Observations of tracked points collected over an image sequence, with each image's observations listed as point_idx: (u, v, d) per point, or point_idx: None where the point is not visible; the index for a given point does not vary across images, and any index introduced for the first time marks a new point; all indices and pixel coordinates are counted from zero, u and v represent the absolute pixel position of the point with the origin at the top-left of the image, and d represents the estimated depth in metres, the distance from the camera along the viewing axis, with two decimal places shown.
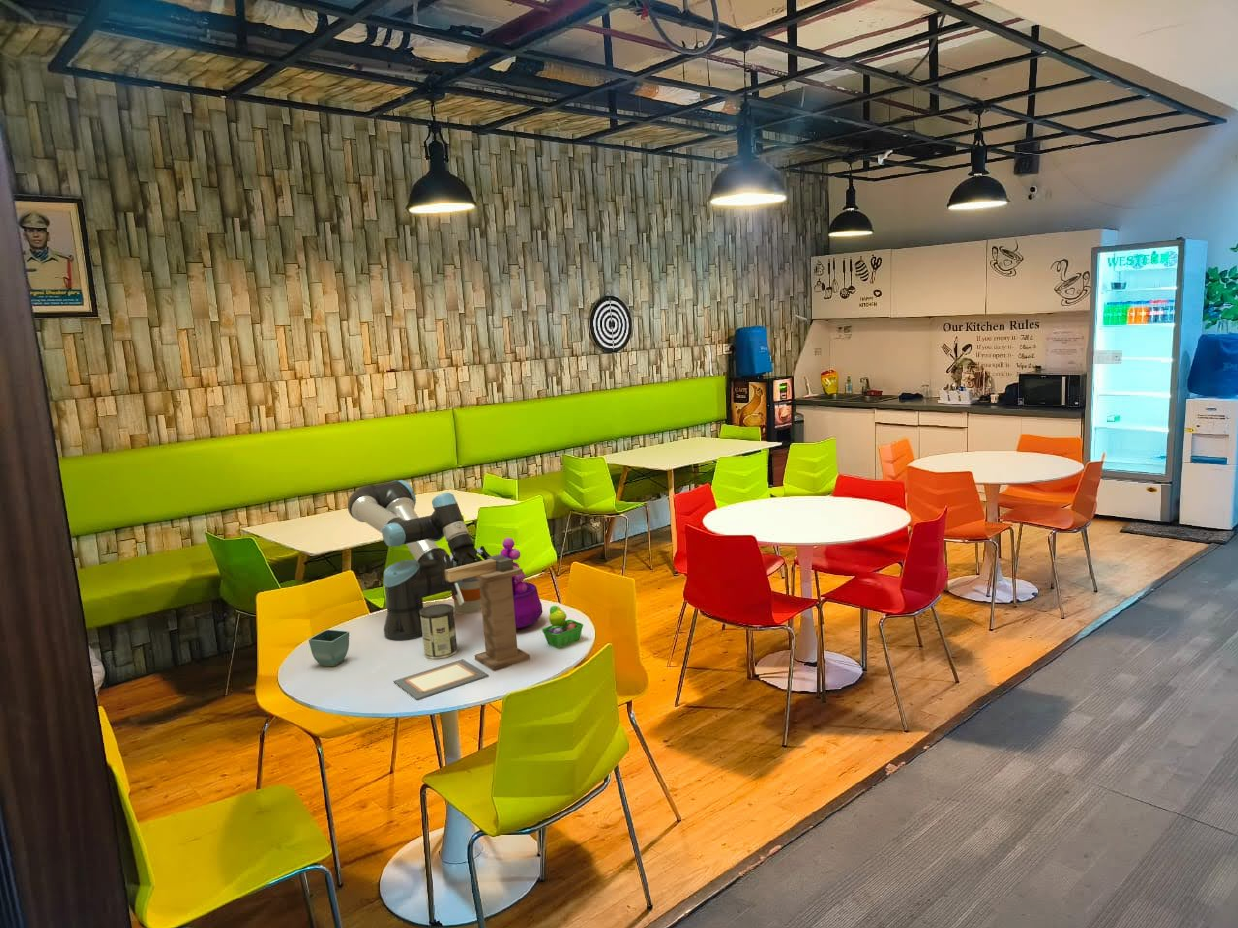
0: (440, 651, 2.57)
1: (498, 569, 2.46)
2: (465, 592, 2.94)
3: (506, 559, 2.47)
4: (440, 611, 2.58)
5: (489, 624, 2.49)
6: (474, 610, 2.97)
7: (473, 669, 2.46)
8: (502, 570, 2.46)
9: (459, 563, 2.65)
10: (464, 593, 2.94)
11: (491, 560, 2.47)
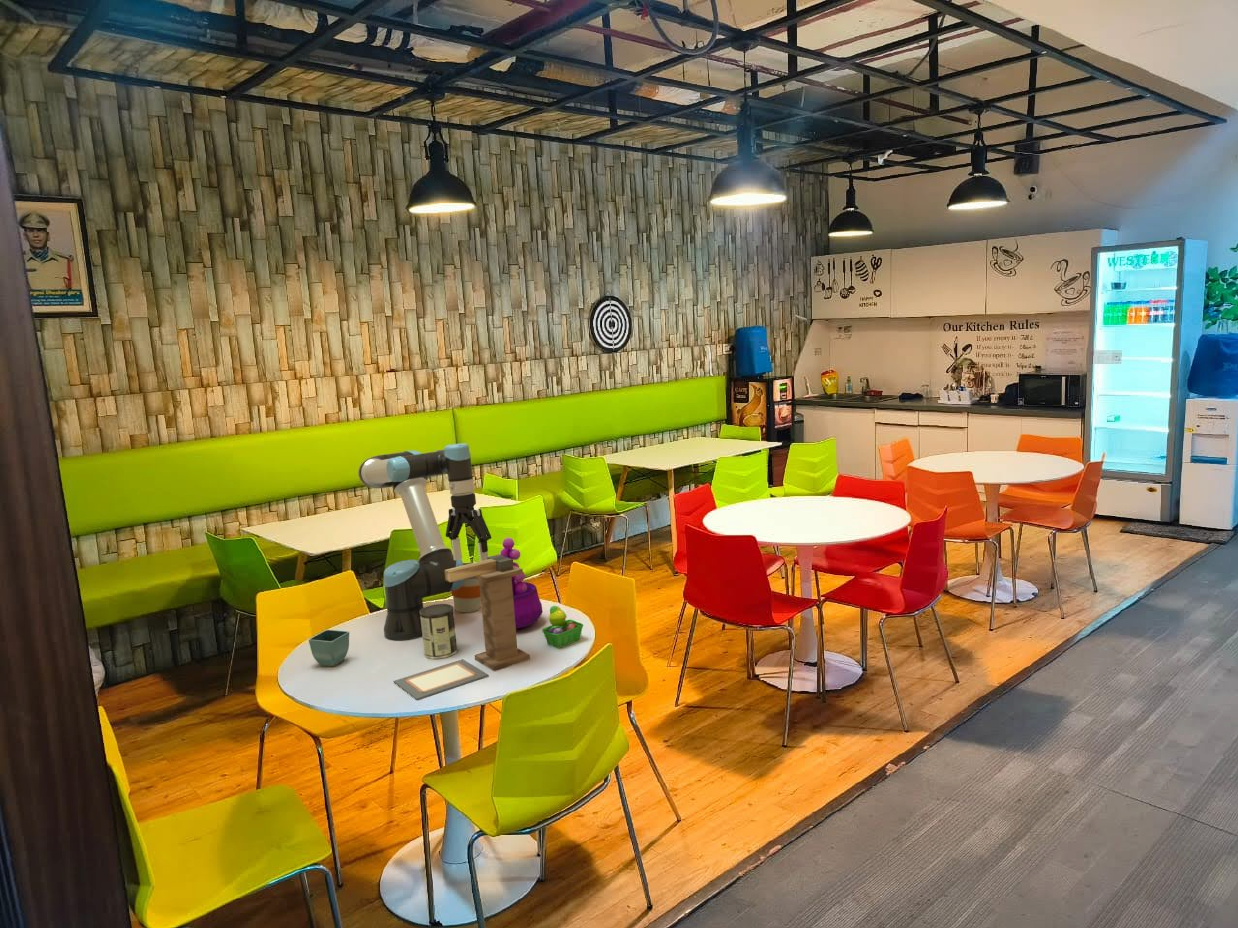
0: (440, 651, 2.57)
1: (498, 569, 2.46)
2: (463, 589, 2.94)
3: (506, 559, 2.47)
4: (440, 611, 2.58)
5: (489, 624, 2.49)
6: (473, 608, 2.97)
7: (473, 669, 2.46)
8: (502, 570, 2.46)
9: (455, 522, 2.63)
10: (463, 590, 2.94)
11: (491, 560, 2.47)
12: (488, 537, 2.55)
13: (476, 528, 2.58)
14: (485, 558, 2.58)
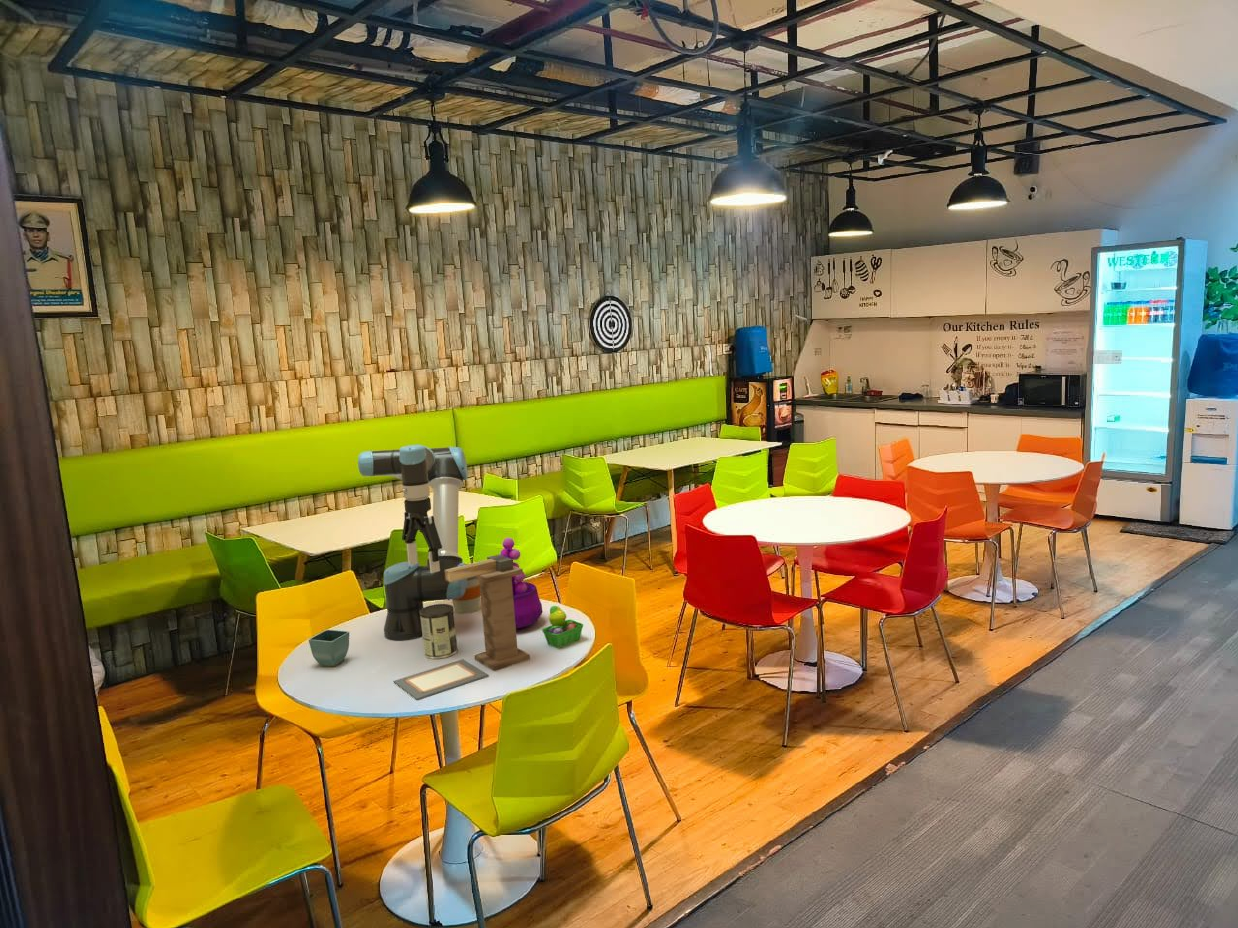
0: (440, 651, 2.57)
1: (498, 569, 2.46)
2: None
3: (506, 559, 2.47)
4: (440, 611, 2.58)
5: (489, 624, 2.49)
6: (472, 609, 2.97)
7: (473, 669, 2.46)
8: (502, 570, 2.46)
9: (409, 527, 2.51)
10: None
11: (491, 560, 2.47)
12: (438, 547, 2.43)
13: (428, 536, 2.45)
14: (436, 567, 2.46)
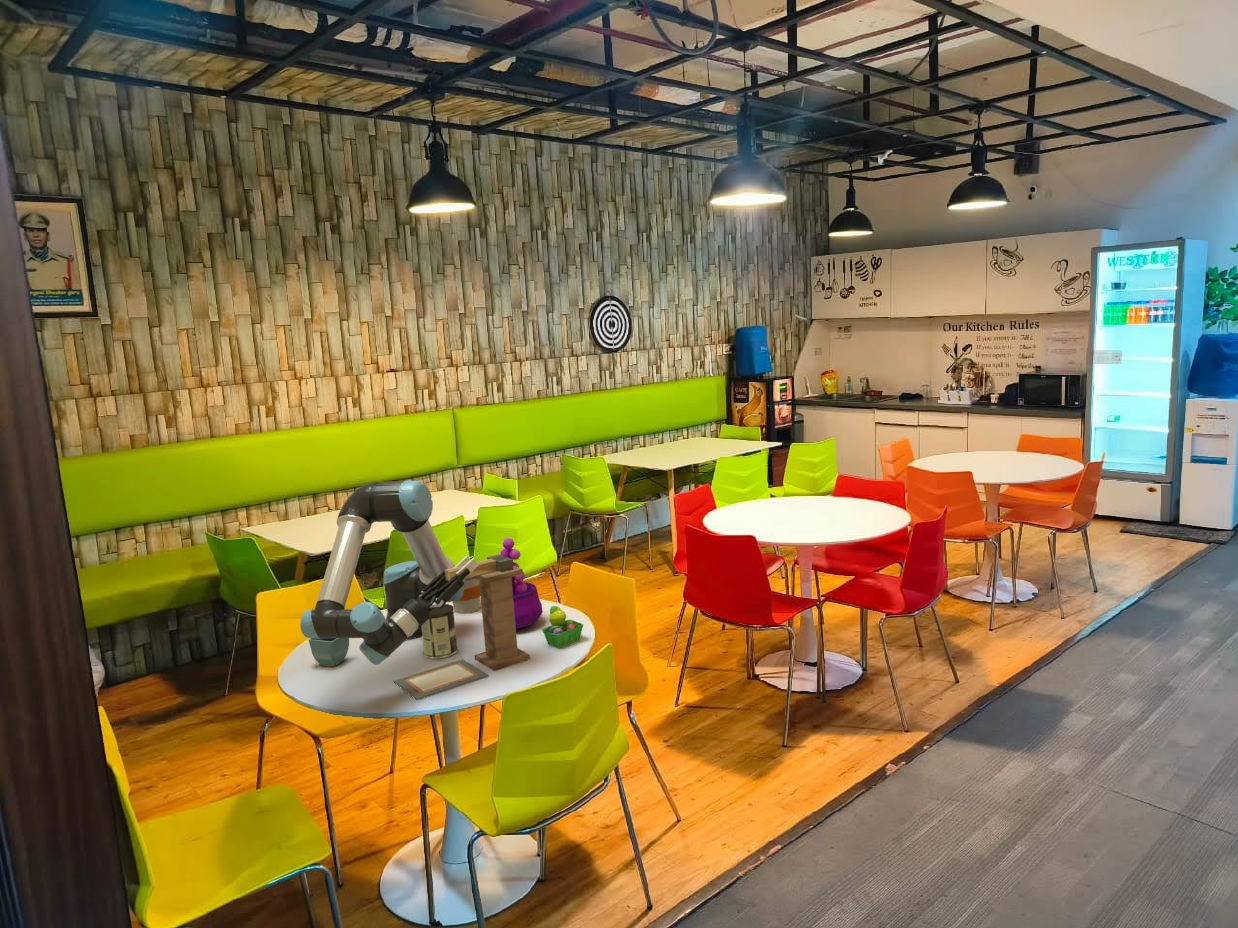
0: (440, 651, 2.56)
1: (498, 569, 2.46)
2: None
3: (506, 559, 2.47)
4: (440, 611, 2.58)
5: (489, 624, 2.49)
6: (472, 609, 2.97)
7: (473, 669, 2.46)
8: (502, 570, 2.46)
9: None
10: None
11: (491, 560, 2.47)
12: (460, 582, 2.36)
13: None
14: (472, 564, 2.41)
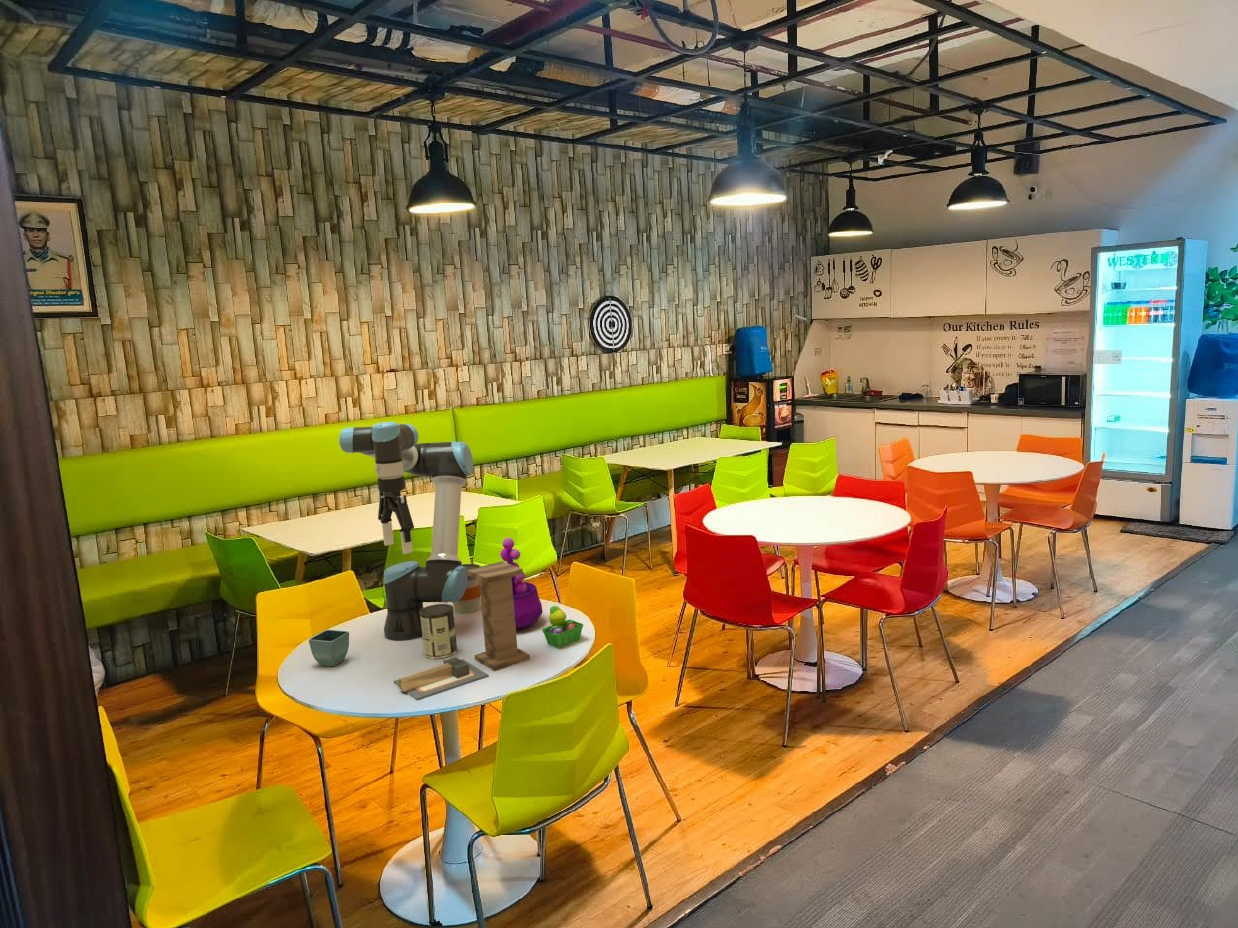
0: (440, 651, 2.56)
1: (454, 675, 2.41)
2: None
3: (462, 664, 2.42)
4: (440, 611, 2.58)
5: (489, 624, 2.49)
6: (473, 609, 2.97)
7: (473, 669, 2.46)
8: (458, 676, 2.40)
9: (383, 506, 2.44)
10: None
11: (447, 665, 2.42)
12: (410, 527, 2.35)
13: (400, 516, 2.38)
14: (408, 548, 2.39)
